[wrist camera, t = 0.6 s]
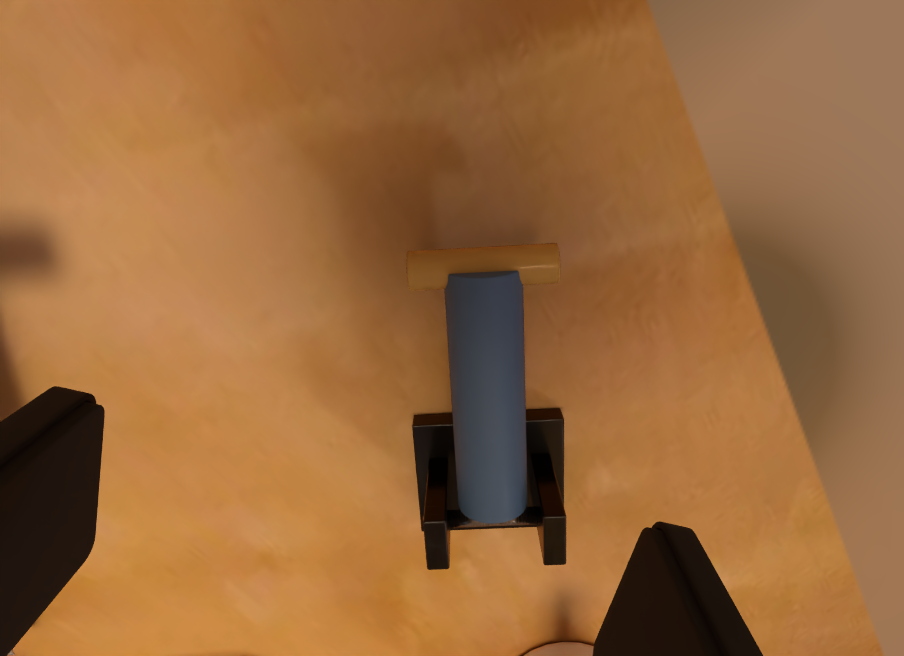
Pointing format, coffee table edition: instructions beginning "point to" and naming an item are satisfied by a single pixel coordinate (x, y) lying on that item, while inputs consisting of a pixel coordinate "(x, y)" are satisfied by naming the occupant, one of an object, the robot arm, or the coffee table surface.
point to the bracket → (442, 494)
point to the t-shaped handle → (487, 365)
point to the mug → (563, 650)
